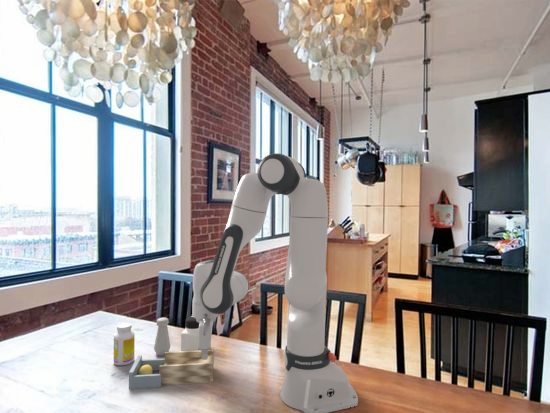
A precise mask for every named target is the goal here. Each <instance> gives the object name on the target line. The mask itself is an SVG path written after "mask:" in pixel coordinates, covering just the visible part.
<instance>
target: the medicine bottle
mask: <svg viewBox="0 0 550 413" xmlns="http://www.w3.org/2000/svg"><path fill="white" fill-rule="evenodd" d="M198 332H199V322H197V321H196V318H194V317H193V316H192V315H191V316H188V317H186V319H185V329H184V330H183V331H181V333H180V351H198V350H199V349H198Z"/></svg>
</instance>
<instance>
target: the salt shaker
mask: <svg viewBox="0 0 550 413" xmlns="http://www.w3.org/2000/svg"><path fill="white" fill-rule="evenodd" d="M169 321H170V319H169V318H167V317H159V318H157V319H156V326H157V330H156V336H155V341H154V344H153V350H154V352H155V354H156V356H158V357H163V356H165V352H170V349H171V341H170V335H169V330H168V325H169Z"/></svg>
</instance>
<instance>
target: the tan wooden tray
mask: <svg viewBox="0 0 550 413" xmlns="http://www.w3.org/2000/svg"><path fill="white" fill-rule="evenodd" d="M214 355H215V350H214V349H210V350H208V359H207V360H202V352H201V350H198V351H181V350H180V351H179V350H178V351H168V352H165V355H164V358H165V364H164V365H160V369H159V374H161V378H162V380H161V386H167V385H169V386H170V385H172V386H173V385H184V384H186V385H187V384H199V383H200V384H201V383H202V384H203V383H214V365H215V364H214V363H215V362H214V359H215V358H214V357H215V356H214Z"/></svg>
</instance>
